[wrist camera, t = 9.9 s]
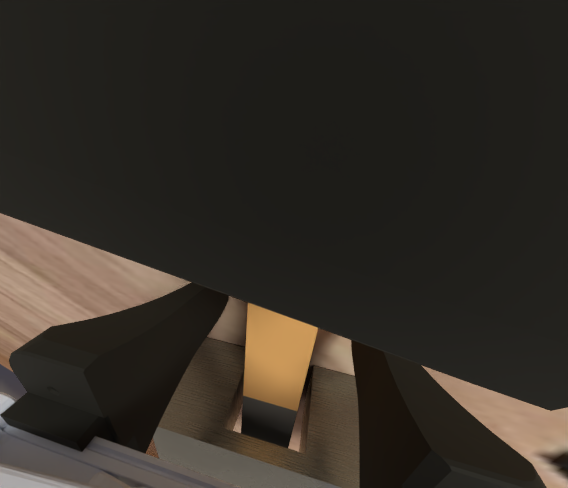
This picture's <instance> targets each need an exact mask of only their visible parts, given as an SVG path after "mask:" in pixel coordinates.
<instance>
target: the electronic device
mask: <svg viewBox="0 0 568 488" xmlns="http://www.w3.org/2000/svg"><path fill="white" fill-rule="evenodd" d="M0 213H2V214H4V215H7V216H10V217H13V218H16V219H18V220H21V221H24V222H27V223H29V224H32V225H35V226H38V227H40V228H43V229H46V230H49V231H52V232H54V233H57V234H60V235H63V236H65V237H68V238H71V239H74V240H76V241H79V242H82V243H85V244H88V245H90V246H93V247H96V248H99V249H101V250H104V251H107V252H110V253H112V254H115V255H118V256H121V257H123V258H126V259H129V260H132V261H135V262H137V263H140V264H143V265H146V266H148V267H151V268H154V269H157V270H159V271H162V272H165V273H168V274H171V275H173V276H176V277H179V278H182V279H184V280H187V281H190V282H193V283H195V284H198V285H201V286H204V287H206V288H209V289H212V290H215V291H218V292H220V293H223V294H226V295H229V296H231V297H234V298H237V299H240V300H242V301H245V302H248V303H251V304H254V305H256V306H259V307H262V308H265V309H267V310H270V311H273V312H276V313H278V314H281V315H284V316H287V317H290V318H292V319H295V320H298V321H301V322H303V323H306V324H309V325H312V326H314V327H317V328H320V329H323V330H325V331H328V332H331V333H334V334H337V335H339V336H342V337H345V338H348V339H350V340H353V341H356V342H359V343H361V344H364V345H367V346H370V347H373V348H375V349H378V350H381V351H384V352H386V353H389V354H392V355H395V356H397V357H400V358H403V359H406V360H408V361H411V362H414V363H417V364H420V365H422V366H425V367H428V368H431V369H433V370H436V371H439V372H442V373H444V374H447V375H450V376H453V377H456V378H458V379H461V380H464V381H467V382H469V383H472V384H475V385H478V386H481V387H484V388H487V389H489V390H492V391H495V392H498V393H501V394H504V395H507V396H510V397H513V398H515V399H518V400H521V401H524V402H527V403H530V404H533V405H536V406H539V407H541V408H544V409H547V410H550V411H552V410H557V409H561V408H566V407H568V0H0Z"/></svg>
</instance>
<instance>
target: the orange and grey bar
mask: <svg viewBox="0 0 568 488" xmlns="http://www.w3.org/2000/svg"><path fill="white" fill-rule="evenodd" d="M317 331H318V328H317V327H314V326H312V325H309V324H306V323H303V322H301V321H298V320H295V319H292V318H290V317H287V316H284V315H281V314H278V313H276V312H273V311H270V310H267V309H265V308H262V307H259V306H256V305H254V304H251V303H248V312H247V331H246V350H245V369H244V388H243V408H242V427H241V434H244V435H247V436H250V437H253V438H257V439H260V440H263V441H266V442H269V443H272V444H275V445H278V446H282V447H285V448H288V446H289V442H290V438H291V434H292V430H293V426H294V422H295V418H296V414H297V410H298V406H299V402H300V398H301V394H302V390H303V386H304V382H305V378H306V374H307V370H308V366H309V362H310V358H311V354H312V350H313V346H314V343H315V339H316V335H317Z"/></svg>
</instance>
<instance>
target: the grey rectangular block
mask: <svg viewBox="0 0 568 488" xmlns="http://www.w3.org/2000/svg"><path fill="white" fill-rule="evenodd" d="M245 350H246V347H242V346H238V345H234V344H230V343H227V342H223V341H219V340H215V339H211V338H208V337H206V338H205V340H204V341H203V343H202V344H201V346H200V347H199V349H198V350H197V352H196V353H195V355H194V357H193V358H192V360H191V362H190V364H189V366H188V367H187V369H186V371H185V373H184V375H183V377H182V379H181V381H180V382H179V384H178V386H177V388H176V390H175V392H174V394H173V396H172V398H171V400H170V402H169V404H168V406H167V408H166V410H165V412H164V414H163V416H162V418H161V421H160V423H159V425H158V427H157V429H156V431H155V434H154V436H153V440H154V443H155V446H156V450H157V453H158V456H159V459H162V460H165V461H168V462H170V463H173V464H176V465H179V466H182V467H185V468H187V469H190V470H193V471H196V472H199V473H202V474H204V475H207V476H210V477H213V478H216V479H219V480H221V481H224V482H227V483H230V484H233V485H236V486H238V487H241V488H359V413H358V397H357V388H356V380H355V376H352V375H348V374H344V373H340V372H336V371H333V370H329V369H325V368H321V367H317V366H314V367H313V371H312V375H311V379H310V382H309V386H308V390H307V394H306V397H305V405H304V414H303V422H302V431H301V440H300V449H299V452H297V451H294V450H291V449H288V448H285V447H282V446H278V445H275V444H272V443H269V442H266V441H263V440H260V439H257V438H253V437H250V436H247V435H244V434H241V433H238V432H235V431H233V429H234V426H235V423H236V420H237V417H238V414H239V412H240V409H241V406H242V403H243V388H244V369H245Z"/></svg>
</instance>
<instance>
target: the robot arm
mask: <svg viewBox="0 0 568 488" xmlns="http://www.w3.org/2000/svg"><path fill="white" fill-rule="evenodd" d="M227 302H228V295H226V294H223V293H220V292H218V291H215V290H212V289H209V288H206V287H204V286H201V285H198V284H195V283H193V282H192V283H190V284H188V285H186V286H184V287H182V288H180V289H178V290H176V291H174V292H172V293H169V294H167V295H165V296H163V297H160V298H158V299H155V300H153V301H150V302H147V303H145V304H142V305H139V306H136V307H132V308H129V309H126V310H123V311H120V312H116V313H113V314H109V315H105V316H101V317H97V318H93V319H88V320H84V321H79V322H74V323H68V324H63V325H58V326H52V327H50V328H49V329H47V330H46V331H44V332H43V333H41V334H40V335H38V336H37V337H35V338H34V339H32V340H31V341H29V342H28V343H26V344H25V345H23V346H22V347H20V348H19V349H17V350H16V351H14V352H13V353H11V356H10V359H9V363H10V366H11V368H12V370H13V372H14V373H15V374H16V376H17V377H18V379H19V380H20V382H21V383H22V385H23V386H24V388H25V389H26V391H27V393H26V394H25V395H24V396H22V397H21V398H20V399H19V400H16V399H15V398H14V397H12V396H10V395H8V394H5V393H2V392H0V488H241V487H238V486H236V485H233V484H230V483H227V482H224V481H221V480H219V479H216V478H213V477H210V476H207V475H204V474H201V473H199V472H196V471H193V470H190V469H187V468H184V467H182V466H179V465H176V464H173V463H170V462H167V461H165V460H162V459H159V458H156V457H153V456H150V455H148V454H145V453H146V451H147V449H148V447H149V444H150V442H151V440H152V438H153V436H154V434H155V431H156V429H157V427H158V425H159V423H160V421H161V418H162V416H163V414H164V412H165V410H166V408H167V406H168V404H169V402H170V400H171V398H172V396H173V394H174V392H175V390H176V388H177V386H178V384H179V382H180V381H181V379H182V377H183V375H184V373H185V371H186V369H187V367H188V366H189V364H190V362H191V360H192V358H193V357H194V355H195V353H196V352H197V350H198V349H199V347H200V346H201V344H202V343H203V341H204V340H205V338H206V337H207V335H208V334H209V333H210V331H211V330H212V328H213V327H214V325H215V324H216V322H217V321H218V319H219V318H220V316H221V314H222V312H223V310H224V308H225V306H226V304H227ZM351 342H352V356H353V365H354V372H355V380H356V388H357V397H358V413H359V488H546V486H545V484H544V483H543V481H542V480H541V478H540V476H539V475H538V473H537V471H536V470H535V468H534V467H533V465H532V464H531V463H530V462H529V461H528V460H527V459H525V458H524V457H523V456H521V455H520V454H519V453H518V452H516V451H515V450H514V449H513V448H511V447H510V446H509V445H508V444H506V443H505V442H504V441H502V440H501V439H500V438H499V437H497V436H496V435H495V434H494V433H492V432H491V431H490V430H489V429H488V428H486V427H485V426H484V425H483V424H482V423H481V422H479V421H478V420H477V419H476V418H475V417H474V416H472V415H471V414H470V413H469V412H468V411H467V410H466V409H465V408H463V407H462V406H461V405H460V404H459V403H458V402H457V401H456V400H455V399H454V398H453V397H452V396H451V395H449V394H448V393H447V392H446V391H445V390H444V389H443V388H442V387H441V386H440V385H439V384H438V383H437V382H436V381H435V380H434V379H433V378H432V377H431V376H430V375H429V373H428V372H427V371H426V370H425V369H424V368H423V367H422V366H421V365H420V364H417V363H414V362H411V361H408V360H406V359H403V358H400V357H397V356H395V355H392V354H389V353H386V352H384V351H381V350H378V349H375V348H373V347H370V346H367V345H364V344H361V343H359V342H356V341H353V340H351Z"/></svg>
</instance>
